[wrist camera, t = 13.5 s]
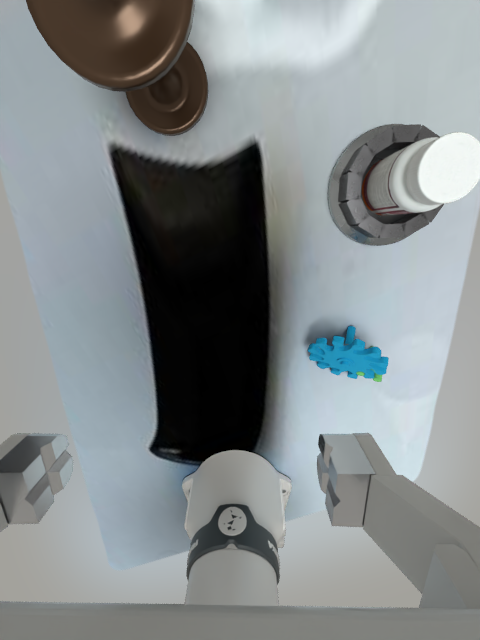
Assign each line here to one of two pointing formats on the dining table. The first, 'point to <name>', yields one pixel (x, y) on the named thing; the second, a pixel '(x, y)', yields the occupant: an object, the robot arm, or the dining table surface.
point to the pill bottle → (423, 175)
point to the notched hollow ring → (349, 179)
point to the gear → (349, 357)
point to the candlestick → (132, 54)
